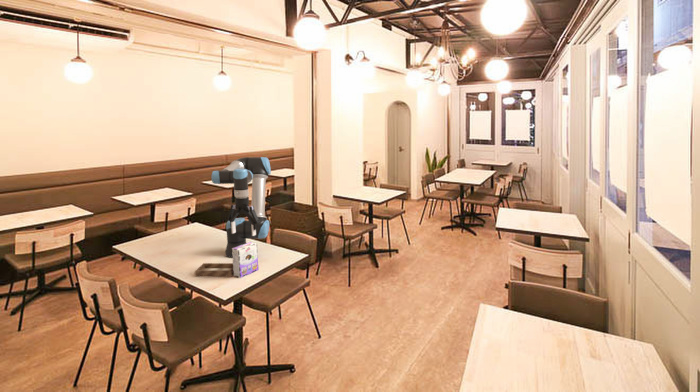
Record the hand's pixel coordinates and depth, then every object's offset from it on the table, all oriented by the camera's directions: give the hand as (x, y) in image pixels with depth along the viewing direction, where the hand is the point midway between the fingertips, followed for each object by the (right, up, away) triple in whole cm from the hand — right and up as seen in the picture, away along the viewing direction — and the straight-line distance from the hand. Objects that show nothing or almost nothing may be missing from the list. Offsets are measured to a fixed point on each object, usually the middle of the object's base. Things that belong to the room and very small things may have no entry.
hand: (243, 234), depth 222 cm
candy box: (0, -23, +5) cm, 23 cm away
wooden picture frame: (-17, -22, +5) cm, 29 cm away
